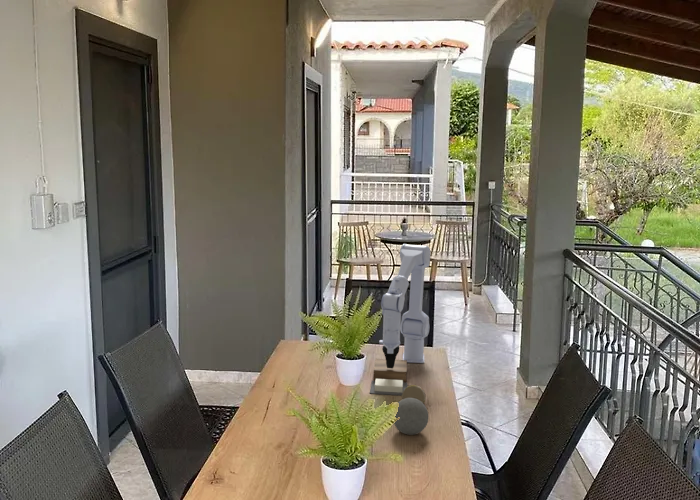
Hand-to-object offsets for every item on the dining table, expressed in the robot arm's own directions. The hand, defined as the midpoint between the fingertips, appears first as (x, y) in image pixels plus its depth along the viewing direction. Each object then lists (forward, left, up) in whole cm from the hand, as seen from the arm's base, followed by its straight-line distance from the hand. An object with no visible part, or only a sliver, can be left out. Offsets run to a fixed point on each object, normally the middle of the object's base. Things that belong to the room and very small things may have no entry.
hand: (390, 367), depth 221 cm
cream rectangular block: (+8, 0, -2) cm, 8 cm away
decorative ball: (+39, +7, -5) cm, 40 cm away
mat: (+7, 0, -5) cm, 8 cm away
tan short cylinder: (+19, +8, -5) cm, 21 cm away
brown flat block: (-5, 0, -5) cm, 7 cm away
